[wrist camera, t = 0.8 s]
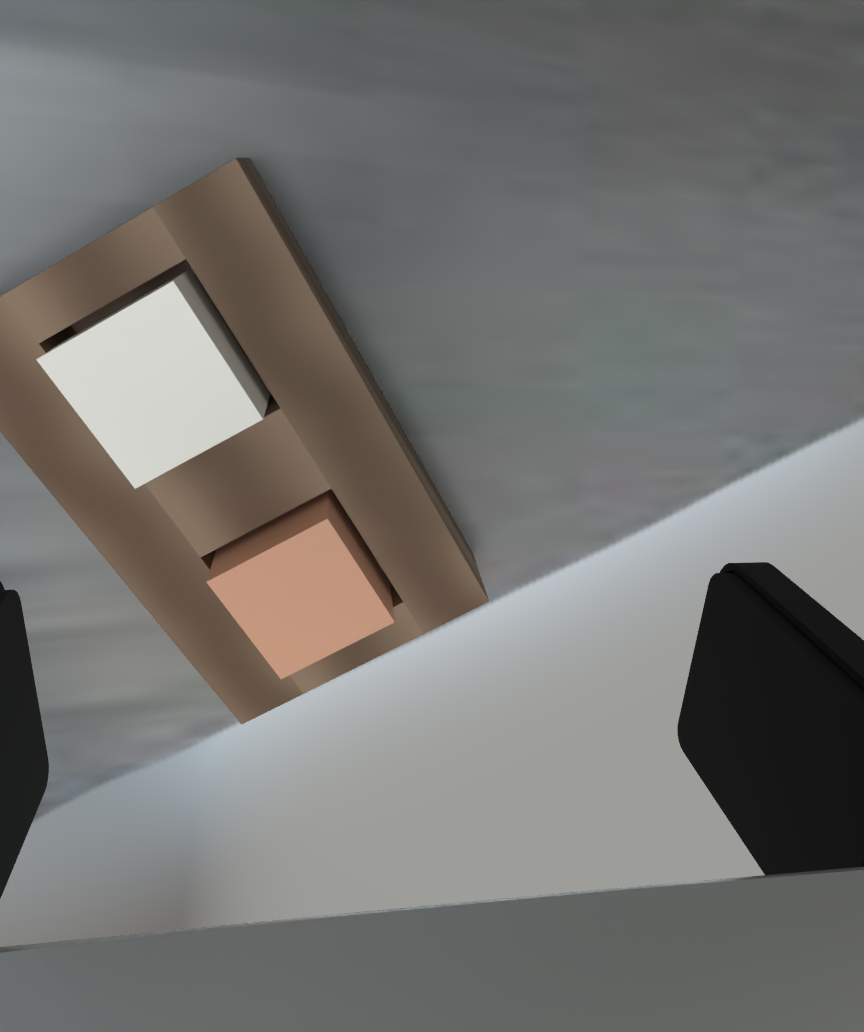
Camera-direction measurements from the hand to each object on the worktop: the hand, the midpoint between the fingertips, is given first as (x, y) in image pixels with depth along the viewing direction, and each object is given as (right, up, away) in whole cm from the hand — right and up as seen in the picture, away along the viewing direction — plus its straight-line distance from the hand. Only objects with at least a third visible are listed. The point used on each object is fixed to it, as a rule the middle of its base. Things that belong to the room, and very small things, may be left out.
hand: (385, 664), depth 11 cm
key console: (-8, +5, +28) cm, 30 cm away
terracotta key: (-5, 0, +27) cm, 28 cm away
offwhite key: (-10, +8, +22) cm, 26 cm away
